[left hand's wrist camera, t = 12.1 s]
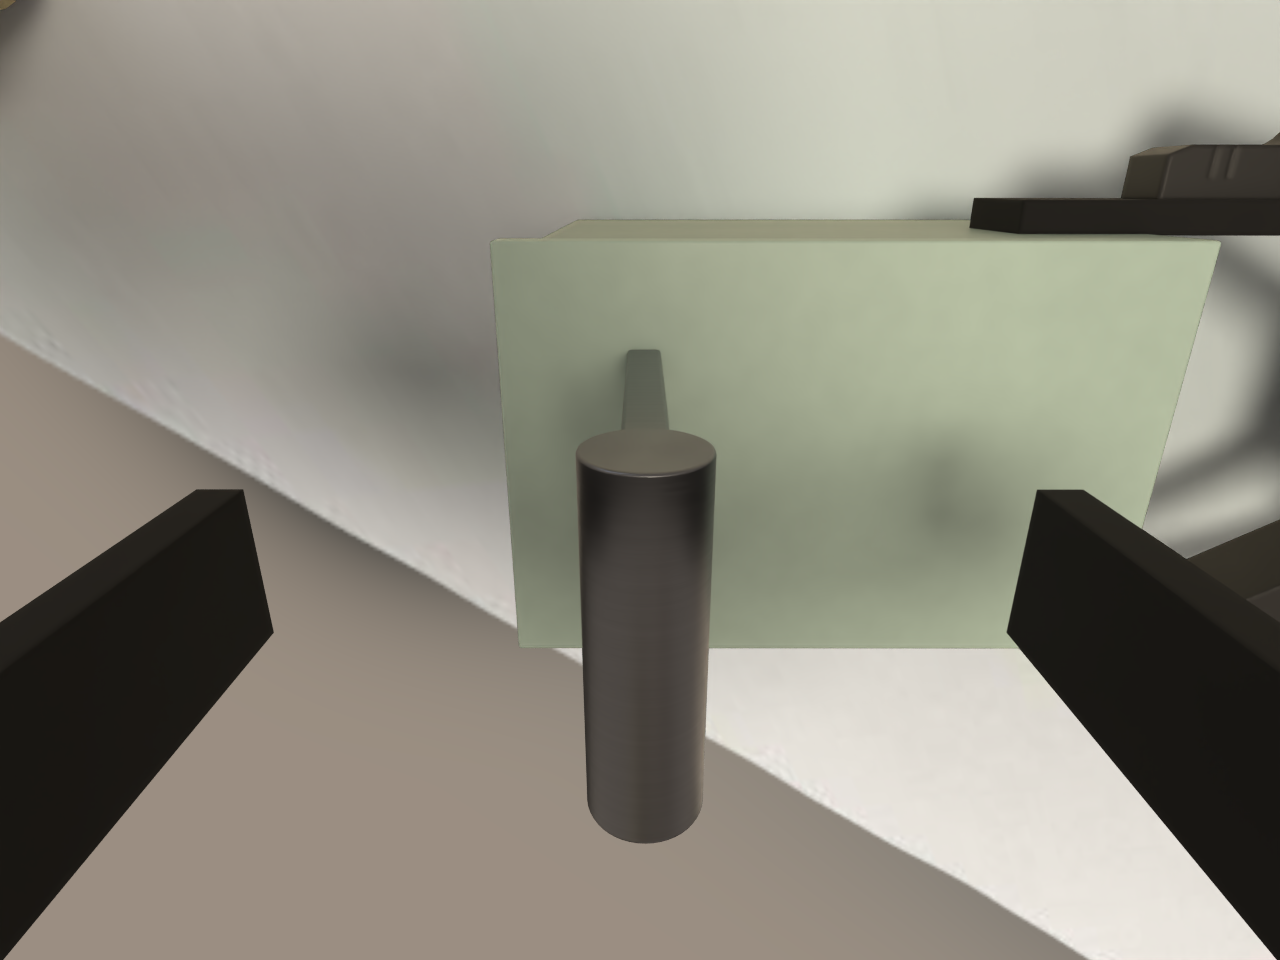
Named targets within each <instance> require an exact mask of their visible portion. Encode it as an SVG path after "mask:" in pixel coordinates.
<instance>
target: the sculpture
mask: <svg viewBox="0 0 1280 960" xmlns="http://www.w3.org/2000/svg"><path fill="white" fill-rule="evenodd" d="M14 2H16V0H0V10H2V9H6V8H7V7H9V6H10V5H12V4H13V3H14Z"/></svg>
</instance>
